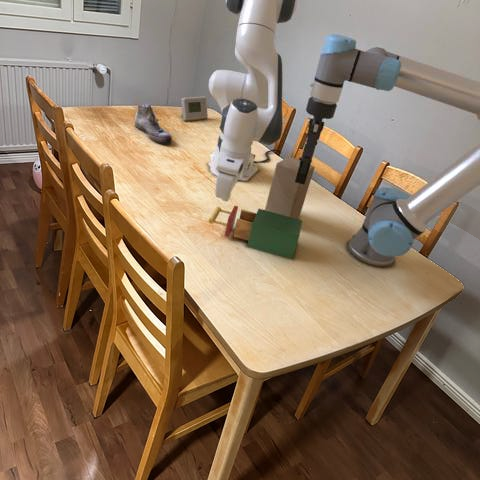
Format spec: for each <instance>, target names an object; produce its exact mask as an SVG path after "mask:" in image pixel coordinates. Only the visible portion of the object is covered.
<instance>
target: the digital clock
mask: <svg viewBox="0 0 480 480" xmlns="http://www.w3.org/2000/svg"><path fill="white" fill-rule="evenodd" d="M207 101H208V100H207V97H206V95H205V96H204V95H203V96H199V95H198V96H197V95H196V96H187V97H182V98H181V99H180V103H181V117H182V120H183V121H189V122H191V121H199V120H204V119H207V118H208V115H209V114H208V103H207Z"/></svg>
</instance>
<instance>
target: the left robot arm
mask: <svg viewBox="0 0 480 480" xmlns="http://www.w3.org/2000/svg"><path fill="white" fill-rule="evenodd" d="M225 4H226V8H227V9H228V11H229V12H231V13H232V14H234V15H239V19H238V22H237V27H236V28H237V29H236V33H235V34H236V35H235V36H236V37H235V46H234V55H235V58H236V60H237V61H238V62H239V63H240V64H241V65H242V66H243V67H245V69H246V70H247V72H248V73H243V72H240V71H235V70H230V69H216V70H215V71H214V72H213V73H212V74H211V75H210V77H209V80H208V90H209V93H210V95H211V97H212V98H213V99H214V100H215V101H216V102H217V104H218V106H219V109H220V113H221V120H220V125H219V128H218V129H220V135H219V136H218V139H217V145H216V146H215V147H214V149H213V153H212V154H210V158H211V160H209V161H208V164H207V165H208V166H209V170H210V172H211V173H212V174H213V175H215V176H216V180H215V190H214V191H215V193H214V195H215V197H216V198H218V199H222V201H223V202H226V203H227V202H228V201H229V200H230V198H231V194H232V192H233V189H234V188H235V186H236V184H237V182H238V181H242V182H247V181H249V179H251V177H253V176H254V175H255V174H256V173H257V172H258V171H259V166H257V165H255V164H258V163H261V164H263V163H266V162H268V161H269V159H270V157H269V155H268V154H269V153H271V152H278V153H279V154H281V153H282V152H281V150H279V149H276V148H275V149H270V150H267V151H265V157H266V159H263V160H260V161H255V159H256V154H254V153H252V145H253V143H254V142H257V143H259V144H263V145H266V146H271V145H273V144H275V143H276V142H278V141H280V139H281V137H282V136H283V135H282V134H283V131H284V120H283V118H284V117H283V60H282V56H281V55H280V54H279V53H278V52H277V49H276V46H275V34H276V28H277V24H285V23H287V22H288V21H290V20H291V19H292V17H293V16H294V14H295V12H296V9H297V5H298V0H225Z"/></svg>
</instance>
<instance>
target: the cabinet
mask: <svg viewBox="0 0 480 480" xmlns="http://www.w3.org/2000/svg"><path fill="white" fill-rule="evenodd" d="M256 213H257V214H256V216H255V219H254V221H253V224H252V228H251V232H250V237H249V241H248V240H247V245H246V246H247V247H248V248H251V249H255V250H258V251H262V252H266V253H269V254H273V255H277V256H280V257H282V258H287V259H290V260H293V257H294V254H295V251H296V248H297V245H298V241H299V238H300V234H301V230H302V226H303V225H302V224H303V220H302V219H298V218H297V219H295V218H291V217H288V216H284V215H281V214H277V213H273V212H270V211H266V210H265V209H263V208H258V209H257V211H256Z"/></svg>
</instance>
